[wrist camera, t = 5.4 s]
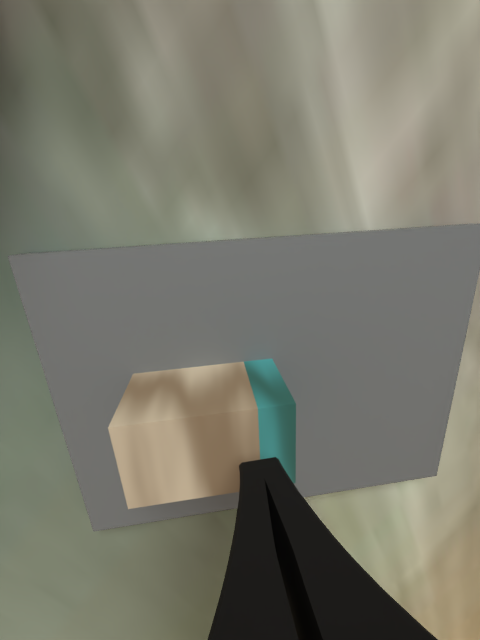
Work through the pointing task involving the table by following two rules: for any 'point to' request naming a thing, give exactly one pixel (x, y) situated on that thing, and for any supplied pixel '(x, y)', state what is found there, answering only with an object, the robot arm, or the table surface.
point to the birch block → (200, 430)
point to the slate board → (262, 345)
